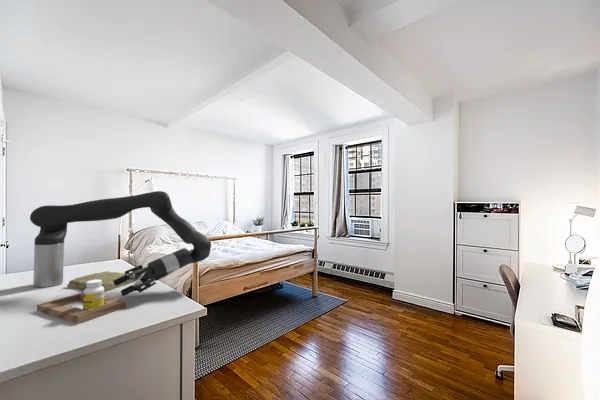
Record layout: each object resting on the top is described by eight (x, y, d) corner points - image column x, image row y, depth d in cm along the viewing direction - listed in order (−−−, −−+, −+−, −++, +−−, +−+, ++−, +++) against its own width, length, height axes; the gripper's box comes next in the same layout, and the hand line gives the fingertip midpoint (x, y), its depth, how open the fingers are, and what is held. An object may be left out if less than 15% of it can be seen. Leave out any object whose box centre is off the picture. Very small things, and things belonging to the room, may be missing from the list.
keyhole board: (36, 311, 87) (37, 304, 87) (85, 297, 100) (85, 291, 100) (79, 323, 79) (79, 316, 79) (125, 307, 92) (126, 300, 92)
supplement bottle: (78, 313, 86) (79, 282, 87) (96, 307, 91) (97, 277, 92) (89, 316, 84) (90, 284, 85) (107, 309, 89) (108, 279, 90)
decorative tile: (104, 277, 128) (104, 270, 128) (140, 280, 124) (140, 272, 124) (62, 289, 110) (62, 280, 110) (103, 293, 106) (103, 284, 106)
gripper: (154, 252, 110) (108, 271, 99) (169, 265, 101) (120, 288, 90) (159, 267, 113) (115, 288, 102) (174, 281, 104) (127, 305, 93)
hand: (117, 288), depth 96 cm, fingers open, 8 cm apart
